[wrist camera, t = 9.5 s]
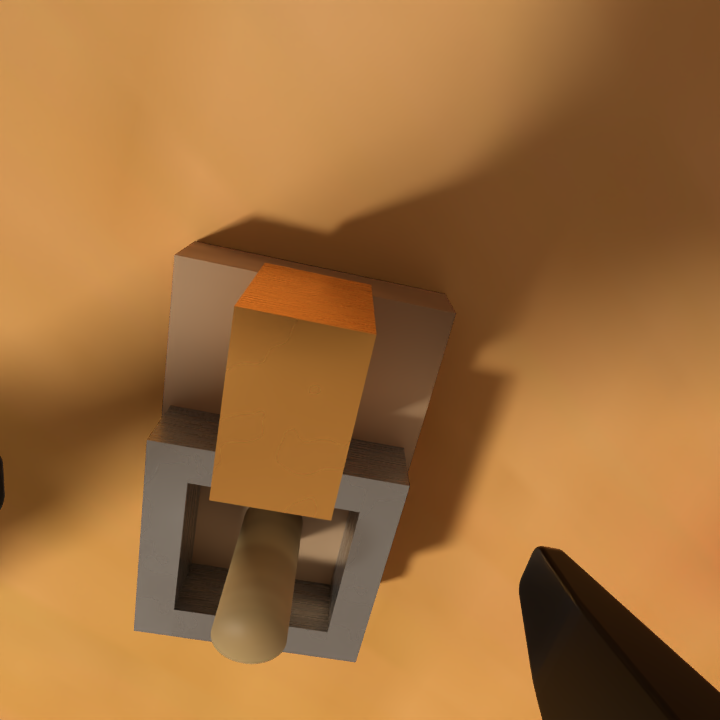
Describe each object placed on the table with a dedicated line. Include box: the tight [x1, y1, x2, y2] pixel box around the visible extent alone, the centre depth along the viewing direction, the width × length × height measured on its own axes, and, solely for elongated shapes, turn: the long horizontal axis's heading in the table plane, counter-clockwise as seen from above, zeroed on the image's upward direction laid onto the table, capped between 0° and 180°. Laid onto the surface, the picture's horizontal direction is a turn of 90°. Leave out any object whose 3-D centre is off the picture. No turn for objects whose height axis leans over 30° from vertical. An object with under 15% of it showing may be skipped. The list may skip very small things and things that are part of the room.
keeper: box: [162, 241, 456, 664], centre depth 16 cm, size 13×8×6 cm, turn 168°
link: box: [134, 263, 410, 662], centre depth 15 cm, size 12×7×4 cm, turn 168°
